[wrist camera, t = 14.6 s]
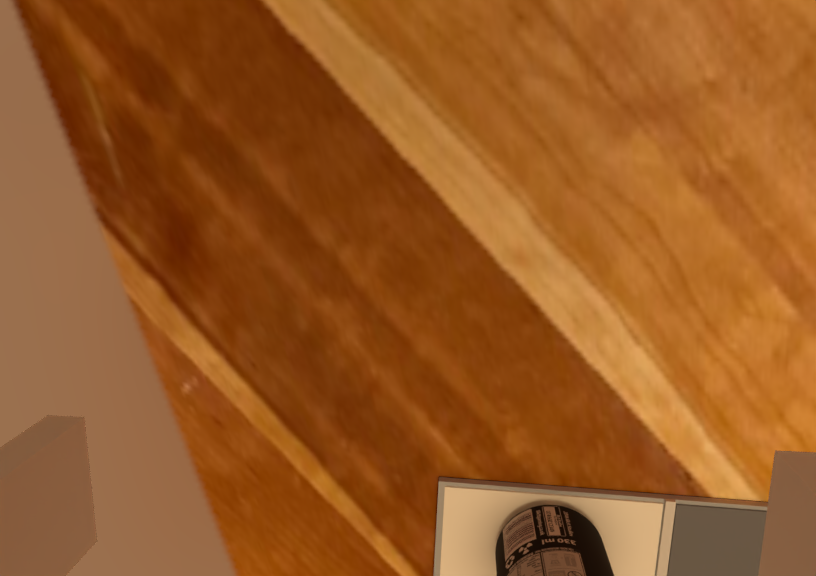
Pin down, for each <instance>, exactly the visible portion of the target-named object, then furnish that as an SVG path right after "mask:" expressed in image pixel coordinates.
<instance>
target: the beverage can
mask: <svg viewBox="0 0 816 576" xmlns="http://www.w3.org/2000/svg"><path fill="white" fill-rule="evenodd" d="M495 557H496V573H497V576H614V573H613V570H612V567H611V564H610V562H609V559H608V556H607V553H606V550H605V547H604V544H603V541H602V538H601V536H600V534H599V532H598V530H597V529H596V527H595V526H594V525H593V524H592V523H591V522H590V521H589V520H588V519H587V518H586V517H585V516H583V515H582V514H580V513H579V512H577V511H575V510H573V509H570V508H567V507H563V506H559V505H540V506H535V507H531V508H528V509H526V510H524V511H522V512H520V513H518V514H517V515H515V516H514V517H513V518H511V519H510V521H509V522H508V523H507V524H506V525H505V526H504V528H503V529H502V531H501V533H500V535H499V537H498V540H497V544H496V550H495Z"/></svg>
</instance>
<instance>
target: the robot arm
mask: <svg viewBox="0 0 816 576" xmlns="http://www.w3.org/2000/svg"><path fill="white" fill-rule="evenodd" d="M96 542H97V535H96V526H95V516H94V506H93V496H92V486H91V476H90V467H89V458H88V447H87V437H86V428H85V418H84V417H73V416H52V415H47V416H46V417H44V418H43V419H42V420H40V421H39V422H37V423H36V424H34V425H33V426H31V427H30V428H28V429H27V430H25V431H24V432H22V433H21V434H20V435H18V436H17V437H15V438H14V439H12V440H11V441H9V442H8V443H6V444H5V445H3V446H2V447H0V576H66V575H67V574H68V573H69V571H70V570H71V569H72V568H73V567H74V566H75V565H76V564H77V563H78V562H79V560H80V559H81V558H82V557H83V556H84V555H85V554H86V553H87V552H88V550H89V549H90V548H91V547H92V546H93V545H94V544H95V543H96ZM758 576H816V453H813V452H792V451H775V456H774V463H773V471H772V478H771V485H770V493H769V500H768V508H767V515H766V522H765V530H764V537H763V544H762V552H761V559H760V566H759V574H758Z"/></svg>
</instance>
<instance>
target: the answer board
mask: <svg viewBox="0 0 816 576" xmlns="http://www.w3.org/2000/svg"><path fill="white" fill-rule="evenodd" d="M540 505H559V506H563V507H567V508H570V509H573V510H575V511H577V512H579V513H580V514H582V515H583V516H585V517H586V518H587V519H588V520H589V521H590V522H591V523H592V524H593V525H594V526H595V527H596V529H597V530H598V532H599V534H600V536H601V538H602V541H603V544H604V547H605V550H606V553H607V556H608V559H609V562H610V564H611V567H612V570H613V573H614V576H758V574H759V566H760V559H761V552H762V544H763V537H764V530H765V522H766V515H767V508H768V502H758V501H745V500H732V499H719V498H706V497H693V496H681V495H668V494H655V493H642V492H629V491H616V490H603V489H590V488H577V487H564V486H551V485H538V484H525V483H512V482H500V481H487V480H474V479H461V478H448V477H439V485H438V504H437V522H436V541H435V559H434V576H497V573H496V557H495V550H496V544H497V540H498V537H499V535H500V533H501V531H502V529H503V528H504V526H505V525H506V524H507V523H508V522H509V521H510V519H511V518H513V517H514V516H515V515H517V514H518V513H520V512H522V511H524V510H526V509H528V508H531V507H535V506H540Z"/></svg>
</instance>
